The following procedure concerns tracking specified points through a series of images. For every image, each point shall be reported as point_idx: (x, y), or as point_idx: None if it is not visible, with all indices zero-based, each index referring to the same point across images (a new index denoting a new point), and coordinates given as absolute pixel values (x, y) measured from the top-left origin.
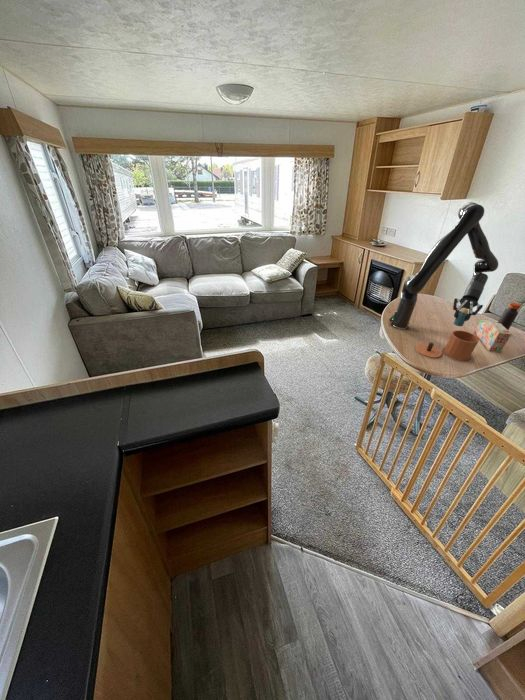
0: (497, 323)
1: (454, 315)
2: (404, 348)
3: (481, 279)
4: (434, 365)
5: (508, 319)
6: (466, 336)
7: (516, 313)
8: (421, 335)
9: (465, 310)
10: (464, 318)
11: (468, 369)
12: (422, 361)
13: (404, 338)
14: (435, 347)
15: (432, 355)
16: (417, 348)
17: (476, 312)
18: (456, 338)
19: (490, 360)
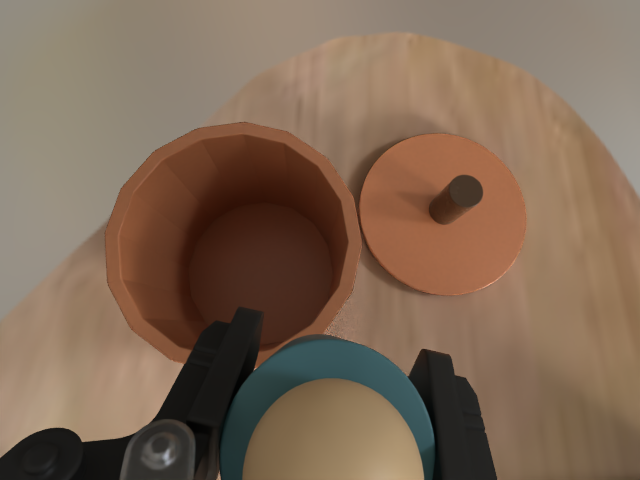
0: None
1: (462, 378)
2: (578, 183)
3: None
4: (394, 77)
5: None
6: None
7: None
8: (504, 454)
9: (331, 404)
10: (282, 348)
11: (209, 123)
12: (459, 87)
13: (608, 326)
14: (401, 272)
15: (416, 153)
16: (512, 196)
17: (3, 475)
18: (323, 158)
19: (38, 305)
